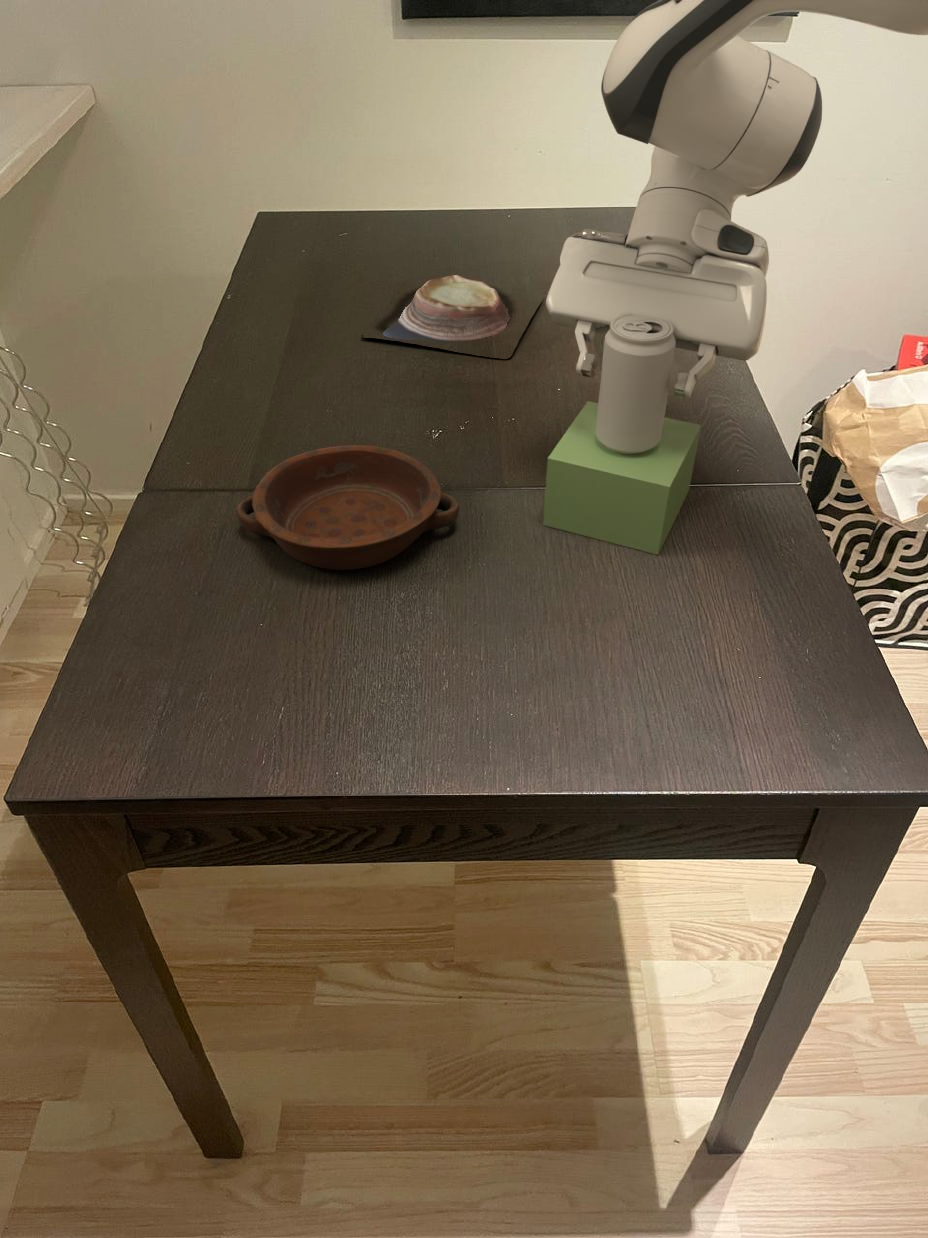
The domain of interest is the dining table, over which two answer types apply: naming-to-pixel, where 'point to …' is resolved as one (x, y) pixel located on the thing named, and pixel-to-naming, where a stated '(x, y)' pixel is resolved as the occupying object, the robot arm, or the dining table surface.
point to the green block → (619, 484)
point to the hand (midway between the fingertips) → (632, 384)
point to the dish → (347, 505)
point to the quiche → (451, 312)
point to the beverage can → (634, 384)
